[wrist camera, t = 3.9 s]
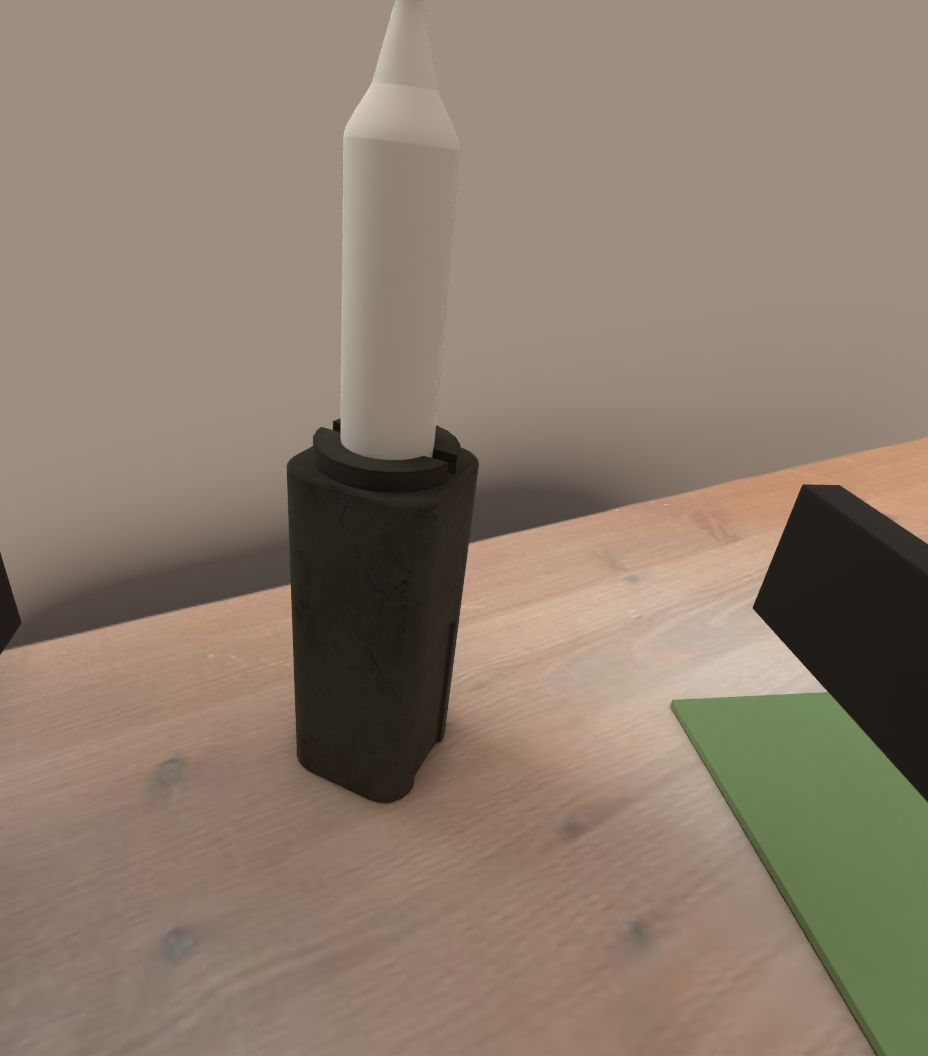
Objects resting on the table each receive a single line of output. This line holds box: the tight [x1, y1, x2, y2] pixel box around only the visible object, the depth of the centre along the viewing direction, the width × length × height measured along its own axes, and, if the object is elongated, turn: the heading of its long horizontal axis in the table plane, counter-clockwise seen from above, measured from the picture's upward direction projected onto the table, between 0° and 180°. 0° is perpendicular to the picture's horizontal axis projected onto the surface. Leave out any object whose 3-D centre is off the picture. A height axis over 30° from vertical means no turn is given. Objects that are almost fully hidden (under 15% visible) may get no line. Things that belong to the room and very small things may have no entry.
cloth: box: [671, 692, 928, 1056], centre depth 25 cm, size 14×16×1 cm
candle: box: [287, 0, 479, 802], centre depth 20 cm, size 5×5×25 cm
